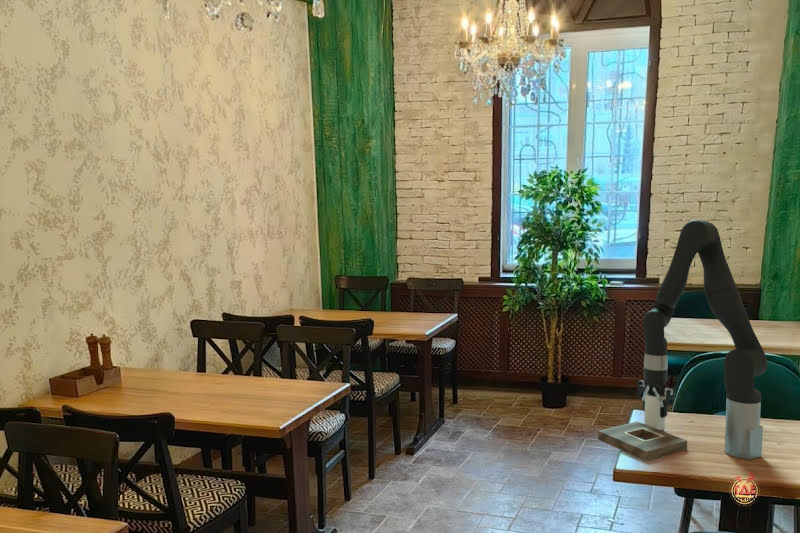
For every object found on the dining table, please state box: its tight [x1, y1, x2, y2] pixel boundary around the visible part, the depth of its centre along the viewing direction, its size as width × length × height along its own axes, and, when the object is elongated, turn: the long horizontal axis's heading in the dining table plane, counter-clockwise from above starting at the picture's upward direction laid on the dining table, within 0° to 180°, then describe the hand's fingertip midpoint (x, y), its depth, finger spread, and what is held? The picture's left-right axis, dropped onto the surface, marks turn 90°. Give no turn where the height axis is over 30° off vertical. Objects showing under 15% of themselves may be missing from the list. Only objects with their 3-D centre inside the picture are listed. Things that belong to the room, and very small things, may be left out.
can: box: [643, 393, 666, 431], centre depth 214 cm, size 6×6×12 cm
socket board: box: [597, 421, 688, 462], centre depth 201 cm, size 20×18×3 cm
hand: (654, 414), depth 214 cm, fingers closed on can, 6 cm apart
